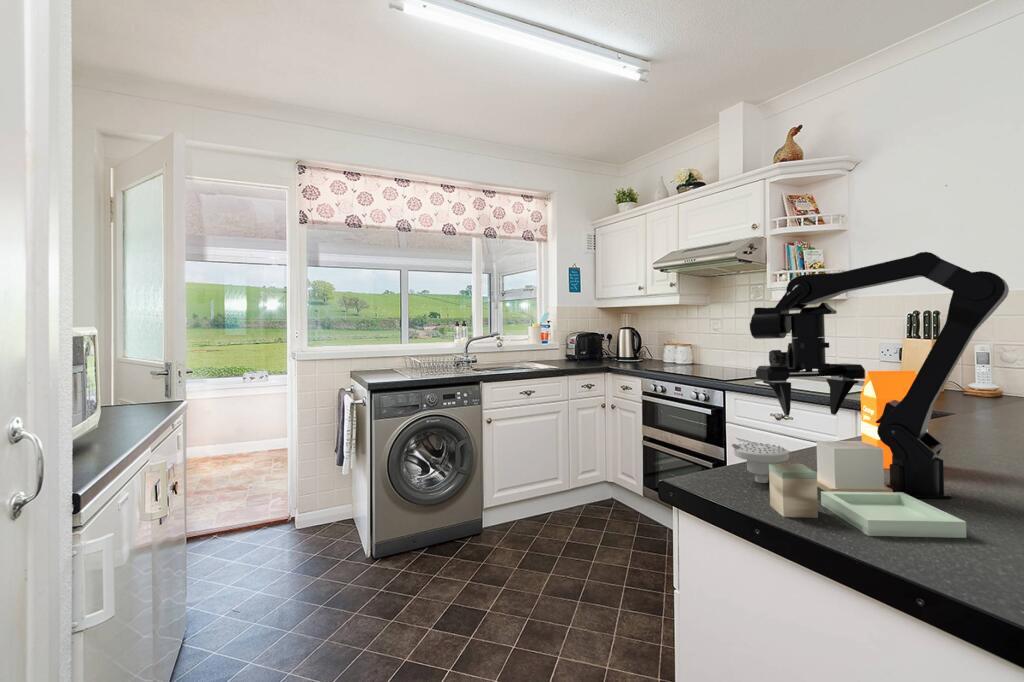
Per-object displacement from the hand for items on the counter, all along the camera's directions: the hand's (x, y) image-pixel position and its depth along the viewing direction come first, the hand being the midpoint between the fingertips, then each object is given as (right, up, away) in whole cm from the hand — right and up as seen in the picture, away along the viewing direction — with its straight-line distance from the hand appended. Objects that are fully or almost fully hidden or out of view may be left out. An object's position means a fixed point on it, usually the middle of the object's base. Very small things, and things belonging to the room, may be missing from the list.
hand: (810, 414), depth 95 cm
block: (-15, -13, -20) cm, 28 cm away
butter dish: (+1, -12, -8) cm, 15 cm away
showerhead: (-12, -13, -4) cm, 18 cm away
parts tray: (-4, -12, -24) cm, 27 cm away
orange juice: (+21, -12, +5) cm, 25 cm away
